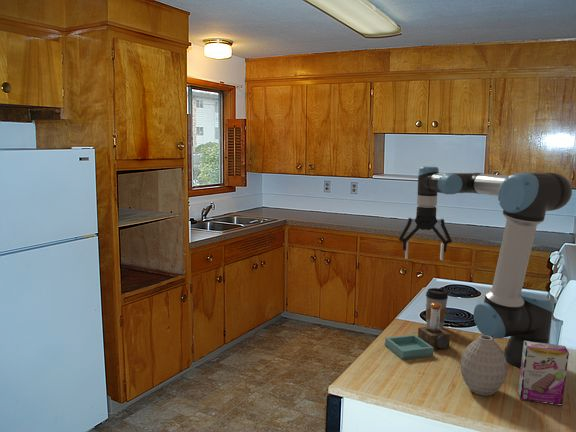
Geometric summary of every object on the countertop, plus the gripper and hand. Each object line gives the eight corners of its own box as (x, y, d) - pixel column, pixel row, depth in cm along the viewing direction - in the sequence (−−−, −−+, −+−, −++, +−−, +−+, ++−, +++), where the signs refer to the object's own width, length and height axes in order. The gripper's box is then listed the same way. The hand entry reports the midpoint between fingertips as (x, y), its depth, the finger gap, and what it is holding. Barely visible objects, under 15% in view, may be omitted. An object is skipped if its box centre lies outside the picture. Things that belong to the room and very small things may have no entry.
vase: (512, 391, 151) (517, 338, 149) (492, 406, 143) (497, 350, 140) (471, 376, 160) (475, 325, 158) (450, 389, 152) (454, 336, 149)
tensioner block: (451, 348, 181) (453, 335, 180) (432, 351, 179) (433, 337, 178) (436, 338, 190) (437, 325, 189) (417, 340, 188) (418, 327, 187)
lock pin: (440, 345, 184) (443, 305, 182) (431, 346, 183) (434, 305, 181) (434, 341, 188) (437, 301, 185) (425, 342, 186) (428, 302, 184)
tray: (433, 355, 175) (433, 347, 174) (402, 359, 171) (402, 351, 171) (414, 342, 186) (414, 334, 186) (385, 345, 183) (385, 337, 182)
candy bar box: (520, 400, 146) (525, 346, 144) (517, 392, 151) (522, 339, 148) (563, 407, 143) (569, 351, 141) (559, 398, 148) (565, 344, 145)
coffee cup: (429, 322, 207) (431, 286, 205) (449, 327, 202) (451, 290, 200) (420, 327, 201) (422, 290, 199) (440, 333, 196) (443, 295, 193)
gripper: (457, 206, 201) (454, 258, 204) (393, 204, 205) (391, 255, 208) (461, 208, 194) (458, 262, 197) (394, 206, 197) (392, 259, 200)
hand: (423, 259), depth 202 cm, fingers open, 13 cm apart
